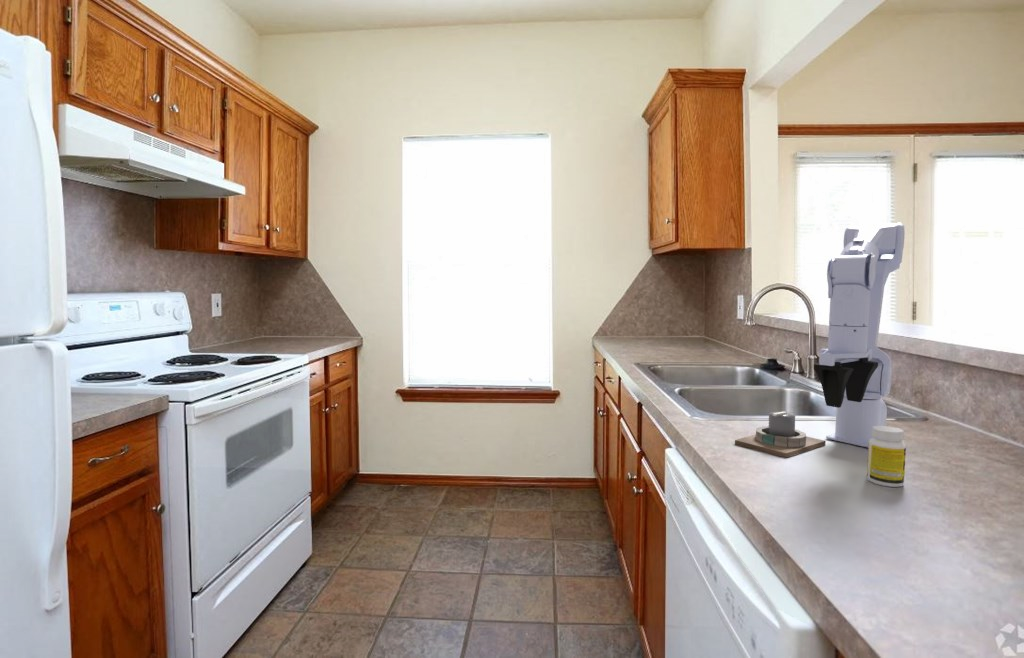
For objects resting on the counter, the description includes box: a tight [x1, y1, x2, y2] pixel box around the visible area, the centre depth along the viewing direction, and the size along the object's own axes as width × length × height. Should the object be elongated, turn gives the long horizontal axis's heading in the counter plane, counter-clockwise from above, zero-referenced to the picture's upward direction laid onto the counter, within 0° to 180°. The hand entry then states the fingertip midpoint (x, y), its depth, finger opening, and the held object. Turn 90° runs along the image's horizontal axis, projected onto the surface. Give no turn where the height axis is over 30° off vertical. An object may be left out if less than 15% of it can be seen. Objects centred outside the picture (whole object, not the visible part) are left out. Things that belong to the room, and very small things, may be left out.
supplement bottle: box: [866, 425, 907, 488], centre depth 83 cm, size 5×5×8 cm
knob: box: [768, 410, 796, 437], centre depth 103 cm, size 4×4×5 cm
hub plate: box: [734, 425, 827, 458], centre depth 103 cm, size 14×10×2 cm
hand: (844, 403), depth 93 cm, fingers open, 7 cm apart
